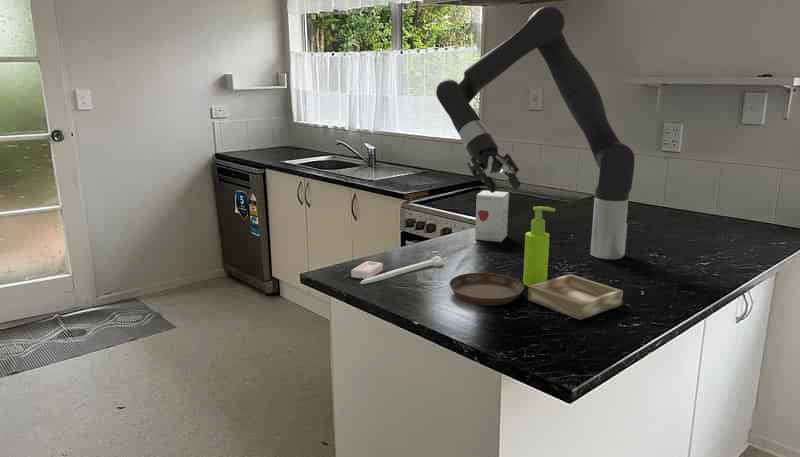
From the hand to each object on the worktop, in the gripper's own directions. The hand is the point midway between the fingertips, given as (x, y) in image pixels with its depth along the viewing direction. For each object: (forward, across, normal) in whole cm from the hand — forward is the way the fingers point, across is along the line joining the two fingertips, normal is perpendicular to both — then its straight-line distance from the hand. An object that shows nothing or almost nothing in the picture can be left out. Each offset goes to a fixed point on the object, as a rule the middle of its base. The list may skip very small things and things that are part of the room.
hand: (506, 189), depth 156 cm
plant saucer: (+24, -16, +9) cm, 30 cm away
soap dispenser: (+25, 0, +8) cm, 26 cm away
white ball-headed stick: (+6, -22, +27) cm, 35 cm away
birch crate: (+34, -3, -3) cm, 35 cm away
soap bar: (+2, -30, +32) cm, 43 cm away
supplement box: (-3, +23, +36) cm, 43 cm away
